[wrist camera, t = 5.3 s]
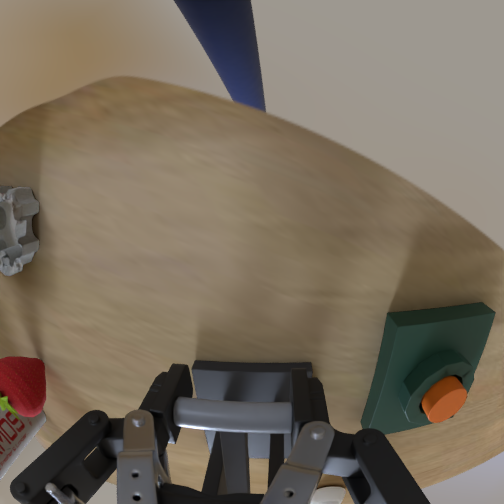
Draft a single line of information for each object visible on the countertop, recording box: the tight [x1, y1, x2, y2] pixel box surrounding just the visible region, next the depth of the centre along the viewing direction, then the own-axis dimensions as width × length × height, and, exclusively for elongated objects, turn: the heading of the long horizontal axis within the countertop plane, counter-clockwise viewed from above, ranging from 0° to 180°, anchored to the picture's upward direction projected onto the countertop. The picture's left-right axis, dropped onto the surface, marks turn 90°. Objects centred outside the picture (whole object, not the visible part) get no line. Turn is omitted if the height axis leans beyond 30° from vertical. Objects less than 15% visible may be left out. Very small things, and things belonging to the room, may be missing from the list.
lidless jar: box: [311, 486, 346, 504], centre depth 24 cm, size 5×3×5 cm
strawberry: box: [0, 357, 46, 420], centre depth 19 cm, size 6×8×10 cm
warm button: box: [421, 376, 467, 423], centre depth 16 cm, size 4×4×2 cm
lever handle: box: [173, 397, 293, 494], centre depth 11 cm, size 12×5×2 cm, turn 2°
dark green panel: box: [361, 302, 495, 435], centre depth 18 cm, size 12×10×4 cm
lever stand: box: [192, 360, 313, 495], centre depth 16 cm, size 12×9×13 cm
